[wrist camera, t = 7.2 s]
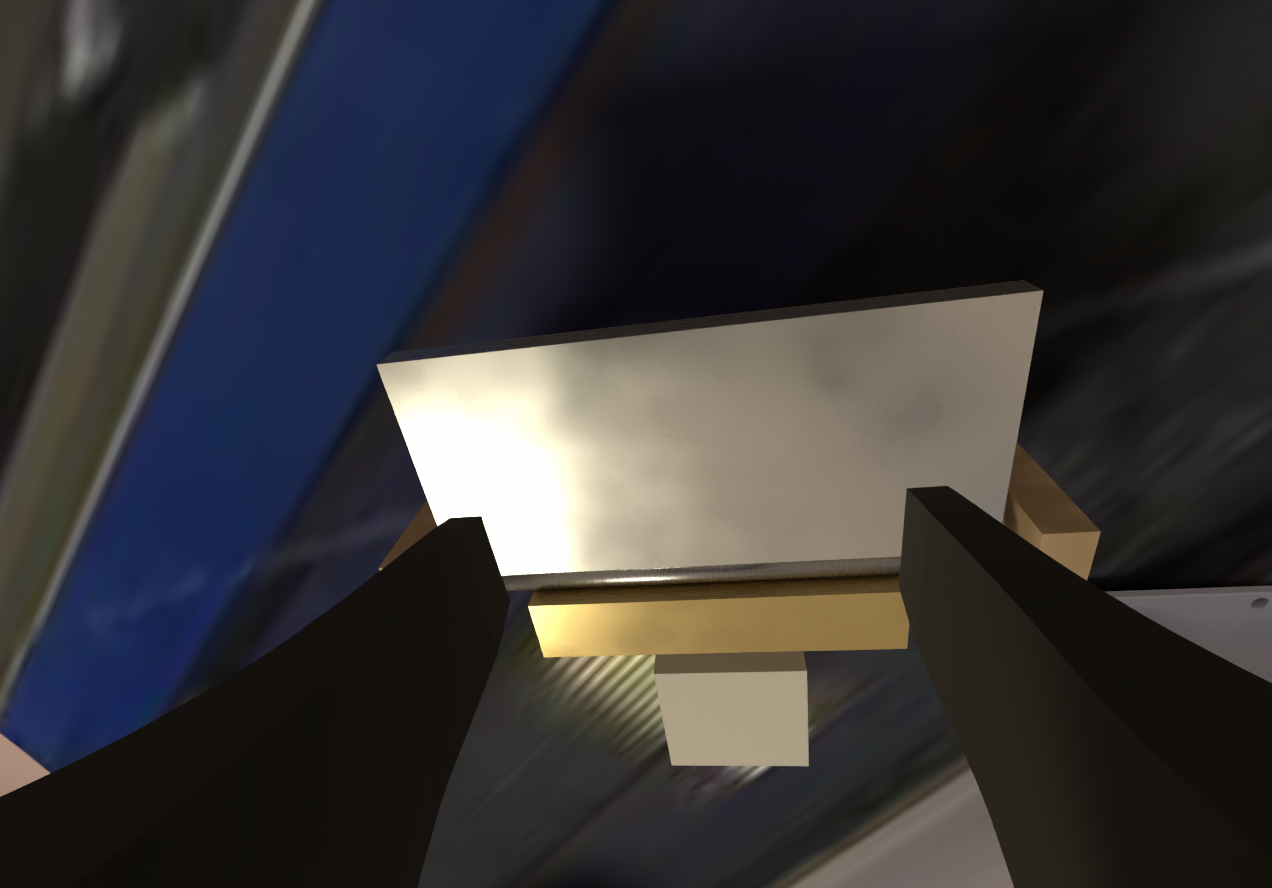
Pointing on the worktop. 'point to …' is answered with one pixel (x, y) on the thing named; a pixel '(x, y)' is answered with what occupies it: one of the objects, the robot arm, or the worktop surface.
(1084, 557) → the frame
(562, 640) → the trapdoor
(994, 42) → the worktop surface
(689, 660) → the stone block
